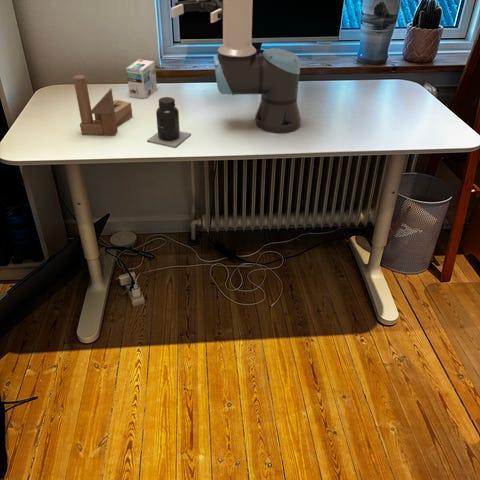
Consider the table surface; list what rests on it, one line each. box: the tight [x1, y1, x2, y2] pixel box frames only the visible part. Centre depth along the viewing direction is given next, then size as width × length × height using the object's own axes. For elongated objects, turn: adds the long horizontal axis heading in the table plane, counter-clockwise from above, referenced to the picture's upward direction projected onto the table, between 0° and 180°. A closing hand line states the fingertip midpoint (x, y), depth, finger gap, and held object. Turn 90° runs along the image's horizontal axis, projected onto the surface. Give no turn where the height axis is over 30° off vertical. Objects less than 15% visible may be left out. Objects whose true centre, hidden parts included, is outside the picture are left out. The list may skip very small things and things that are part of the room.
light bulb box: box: [125, 59, 158, 100], centre depth 184 cm, size 11×7×11 cm, turn 164°
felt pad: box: [146, 131, 192, 149], centre depth 157 cm, size 10×10×1 cm
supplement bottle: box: [155, 96, 180, 141], centre depth 153 cm, size 7×7×12 cm
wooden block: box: [72, 74, 118, 136], centre depth 154 cm, size 4×11×18 cm, turn 87°
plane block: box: [94, 99, 134, 128], centre depth 164 cm, size 6×12×8 cm, turn 157°
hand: (191, 15), depth 152 cm, fingers open, 13 cm apart
